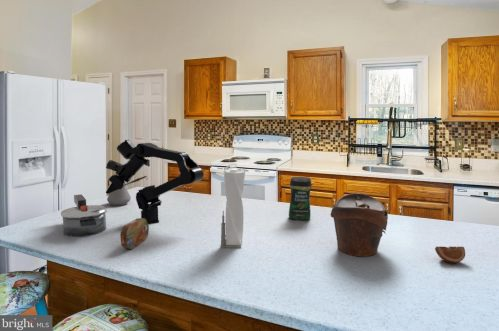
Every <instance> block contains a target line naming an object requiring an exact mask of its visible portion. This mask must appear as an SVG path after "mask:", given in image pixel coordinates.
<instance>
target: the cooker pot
mask: <svg viewBox="0 0 499 331" xmlns="http://www.w3.org/2000/svg"><path fill="white" fill-rule="evenodd" d="M106 217H107V215H106V212H105V213H104V214H101V215H98V216H94V217H89V218H78V219H71V218H64V217H62V225H63V226H62V228H63V235H64V236H67V237H73V238H74V237H75V238H77V237H78V238H79V237H87V236H93V235H97V234H100V233H103V232H104V231H106V230H107V218H106Z"/></svg>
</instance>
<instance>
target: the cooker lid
mask: <svg viewBox="0 0 499 331" xmlns="http://www.w3.org/2000/svg"><path fill="white" fill-rule="evenodd" d="M73 202H74V204H75V206H72V207H69V208H65V209H63V210H61V212H60V217H61V218H63V217H64V218H71V219H78V218H89V217H94V216H98V215H101V214H104V213H105V214H106V213H107V207H106V206H103V205H99V204H98V205H97V204H95V205H94V204H89V205H87V199H86V198H85V197H84V196H83V194H82V193H81V194H74V195H73Z"/></svg>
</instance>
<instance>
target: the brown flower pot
mask: <svg viewBox="0 0 499 331" xmlns="http://www.w3.org/2000/svg"><path fill="white" fill-rule="evenodd" d="M330 217H331V218H332V219H333V222H334V229H335V230H334V231H335V237H336V242H337V243H336V245H337V248H338V250H340V251H341V252H342V253H344V254H347V255H349V256H353V257H371V256H374V255H376V254H377V252H378V250H379V246H380V242H381V239H382V237H383V233H384V234H386V231H387V226H388V218H389V215H388V211H387V208H386V207H385V206H384V204H383V203H382V202H381V201H379V200H378V199H376V198H374V197H373V196H370V195H368V194H364V193H359V192H355V193H353V192H352V193H347V194H345V195H343V196H342V197H340V198H338V199H337V200H336V202H334V205H333V206H332V209H331V211H330Z"/></svg>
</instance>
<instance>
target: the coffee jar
mask: <svg viewBox="0 0 499 331" xmlns="http://www.w3.org/2000/svg"><path fill="white" fill-rule="evenodd" d="M289 189H290V200H289V201H290V202H289V209H288V217H289V219H291V220H296V221H307V220H309V219H311V190H312V179H311V177H308V176H307V177H306V176H291V177H290V181H289Z"/></svg>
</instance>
